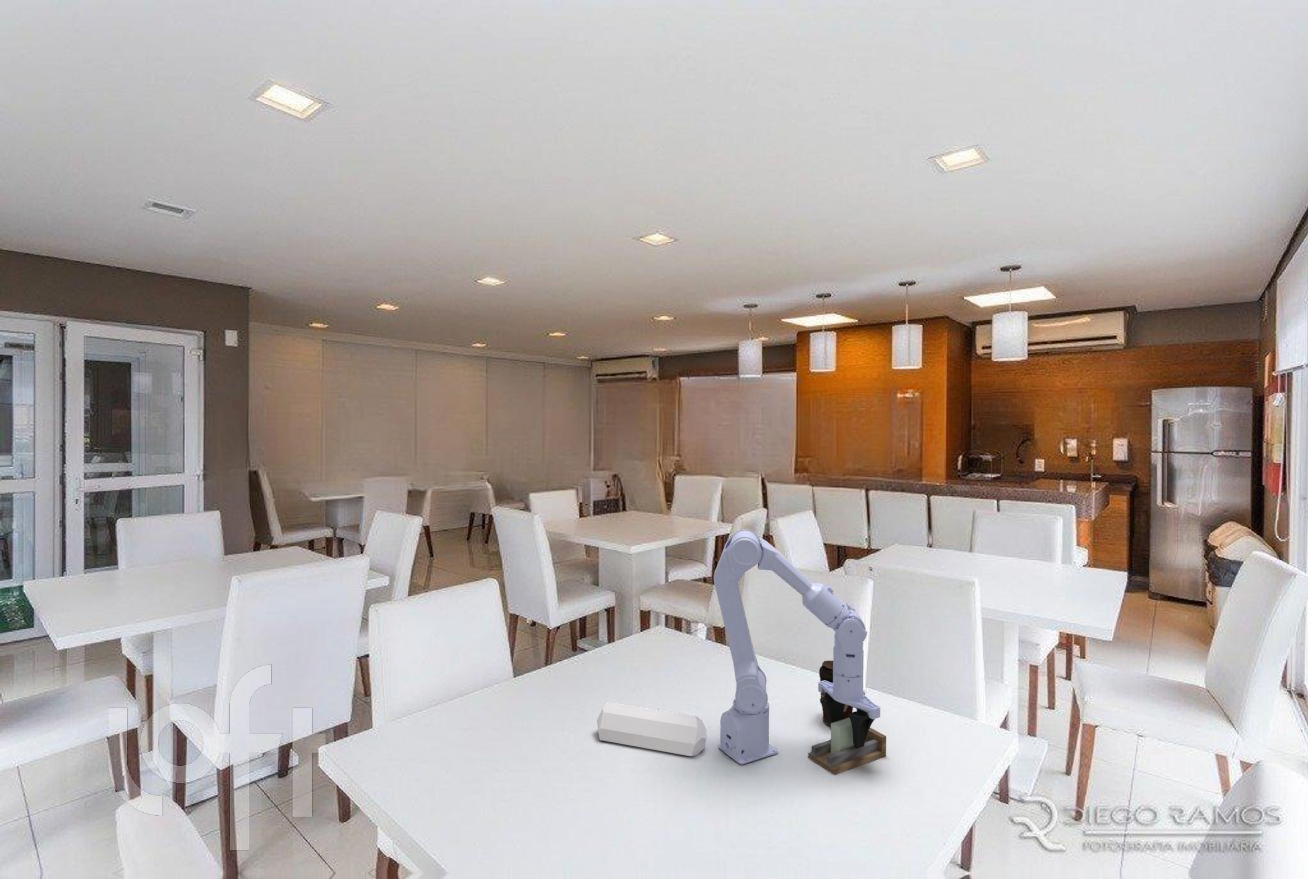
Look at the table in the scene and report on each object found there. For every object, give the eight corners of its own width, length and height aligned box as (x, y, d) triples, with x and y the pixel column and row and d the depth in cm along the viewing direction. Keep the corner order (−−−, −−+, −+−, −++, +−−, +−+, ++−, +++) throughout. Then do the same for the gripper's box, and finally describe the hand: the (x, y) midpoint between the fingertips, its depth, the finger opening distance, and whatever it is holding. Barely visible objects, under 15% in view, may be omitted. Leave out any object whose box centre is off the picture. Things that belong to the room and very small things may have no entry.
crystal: (586, 726, 133) (699, 746, 125) (598, 697, 138) (707, 714, 130) (594, 748, 136) (704, 769, 128) (605, 719, 142) (711, 737, 134)
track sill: (834, 774, 121) (834, 753, 121) (808, 757, 128) (808, 737, 127) (886, 755, 128) (886, 736, 128) (859, 740, 134) (859, 721, 134)
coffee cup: (849, 736, 136) (849, 675, 136) (811, 724, 141) (812, 666, 141) (863, 720, 143) (863, 662, 143) (827, 710, 148) (827, 654, 148)
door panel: (839, 758, 125) (840, 728, 125) (830, 753, 127) (831, 723, 127) (865, 749, 129) (865, 720, 129) (856, 744, 131) (856, 715, 131)
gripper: (891, 681, 123) (891, 751, 123) (836, 656, 136) (835, 720, 136) (865, 688, 120) (864, 760, 120) (810, 662, 132) (810, 728, 133)
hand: (847, 739), depth 128 cm, fingers open, 5 cm apart
